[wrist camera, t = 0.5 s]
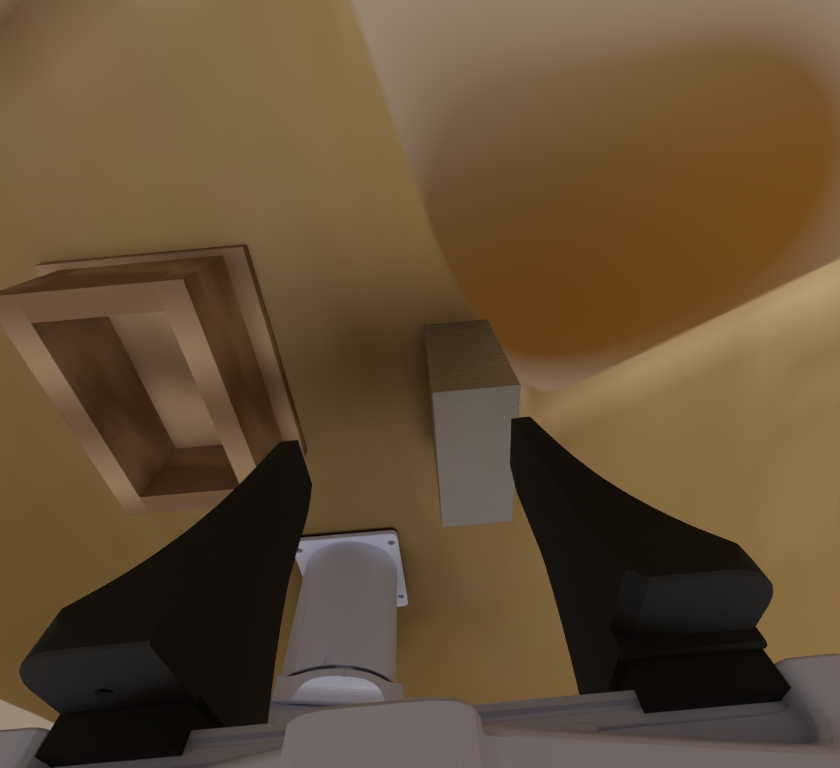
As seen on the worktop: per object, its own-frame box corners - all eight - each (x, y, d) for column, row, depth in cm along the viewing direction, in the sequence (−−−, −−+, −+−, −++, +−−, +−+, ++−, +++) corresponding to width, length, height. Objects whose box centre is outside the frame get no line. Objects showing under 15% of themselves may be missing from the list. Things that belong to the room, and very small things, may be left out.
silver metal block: (486, 434, 26) (512, 521, 20) (432, 439, 26) (442, 527, 20) (487, 319, 22) (520, 385, 16) (423, 324, 22) (432, 392, 16)
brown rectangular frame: (306, 451, 26) (290, 504, 22) (154, 464, 26) (111, 520, 22) (246, 244, 19) (206, 268, 15) (41, 263, 19) (-50, 292, 15)
